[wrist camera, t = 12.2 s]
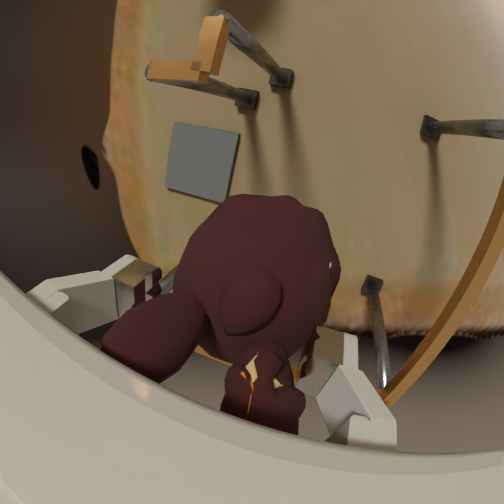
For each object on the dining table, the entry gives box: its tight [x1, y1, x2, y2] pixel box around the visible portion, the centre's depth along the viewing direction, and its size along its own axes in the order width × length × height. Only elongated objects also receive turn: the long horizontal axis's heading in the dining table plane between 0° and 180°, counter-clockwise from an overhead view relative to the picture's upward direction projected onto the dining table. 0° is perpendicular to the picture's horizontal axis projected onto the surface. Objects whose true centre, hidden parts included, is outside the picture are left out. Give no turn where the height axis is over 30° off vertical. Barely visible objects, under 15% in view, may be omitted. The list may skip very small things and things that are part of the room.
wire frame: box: [145, 10, 504, 406], centre depth 20 cm, size 21×21×17 cm
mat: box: [165, 123, 240, 203], centre depth 30 cm, size 8×8×1 cm
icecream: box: [101, 194, 341, 435], centre depth 12 cm, size 7×7×15 cm
